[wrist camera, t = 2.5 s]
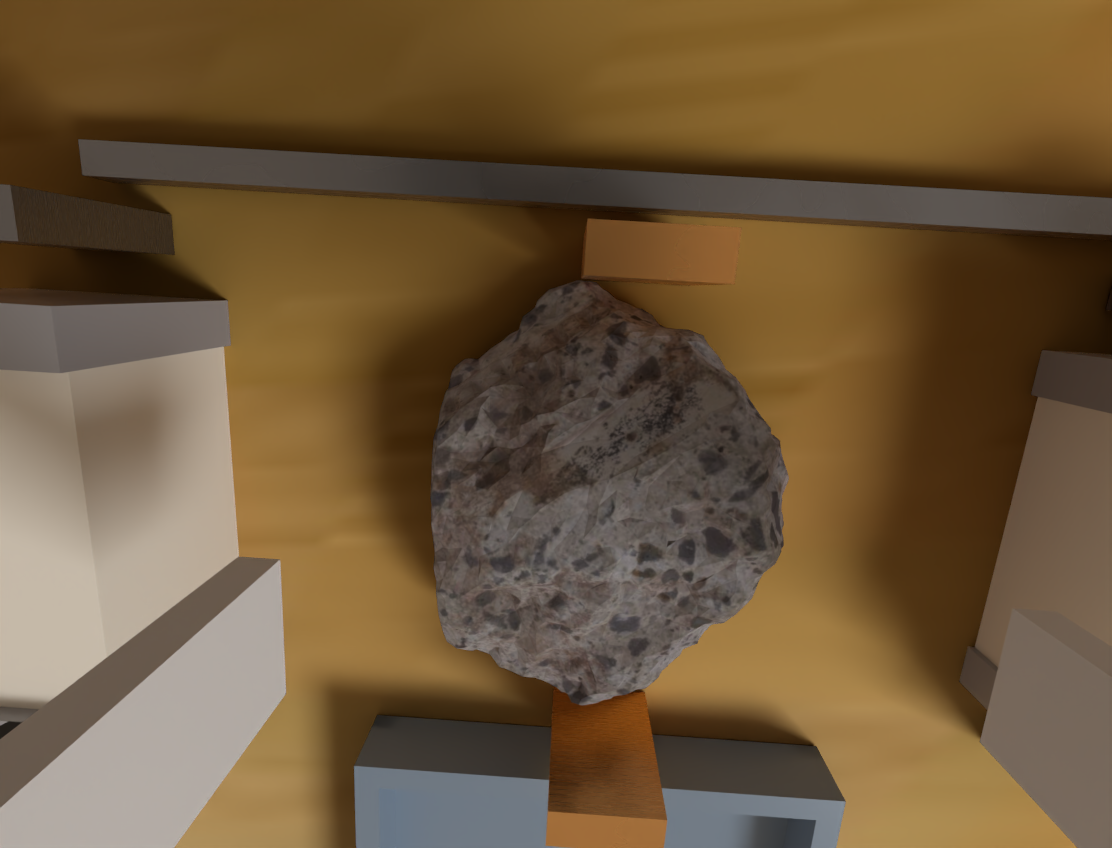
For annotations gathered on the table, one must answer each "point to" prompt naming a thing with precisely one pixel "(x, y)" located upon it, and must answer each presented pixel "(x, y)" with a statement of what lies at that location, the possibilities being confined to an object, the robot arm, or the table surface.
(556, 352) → the rock
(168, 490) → the fuse
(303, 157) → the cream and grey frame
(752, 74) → the table surface
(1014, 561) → the fuse
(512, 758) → the tray
